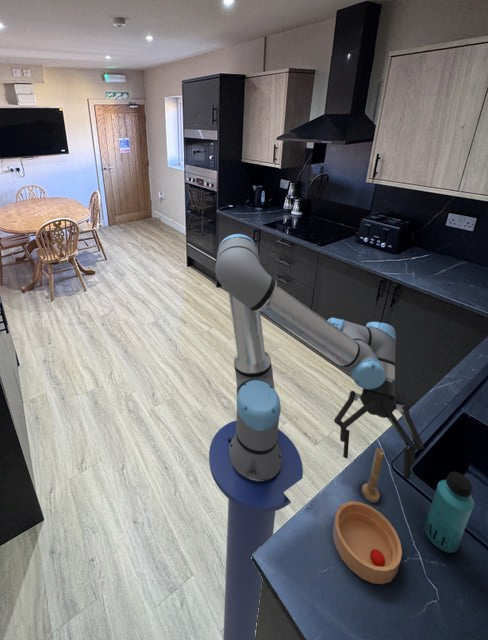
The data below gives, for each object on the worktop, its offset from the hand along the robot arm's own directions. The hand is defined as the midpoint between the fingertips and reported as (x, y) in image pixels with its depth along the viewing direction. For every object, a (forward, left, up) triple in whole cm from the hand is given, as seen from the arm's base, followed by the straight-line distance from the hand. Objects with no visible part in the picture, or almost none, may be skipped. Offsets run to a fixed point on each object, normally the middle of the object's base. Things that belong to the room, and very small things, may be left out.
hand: (375, 467), depth 81 cm
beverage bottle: (+14, +4, -10) cm, 18 cm away
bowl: (+6, -12, -9) cm, 16 cm away
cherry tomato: (+9, -12, -7) cm, 17 cm away
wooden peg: (0, 0, -9) cm, 9 cm away
